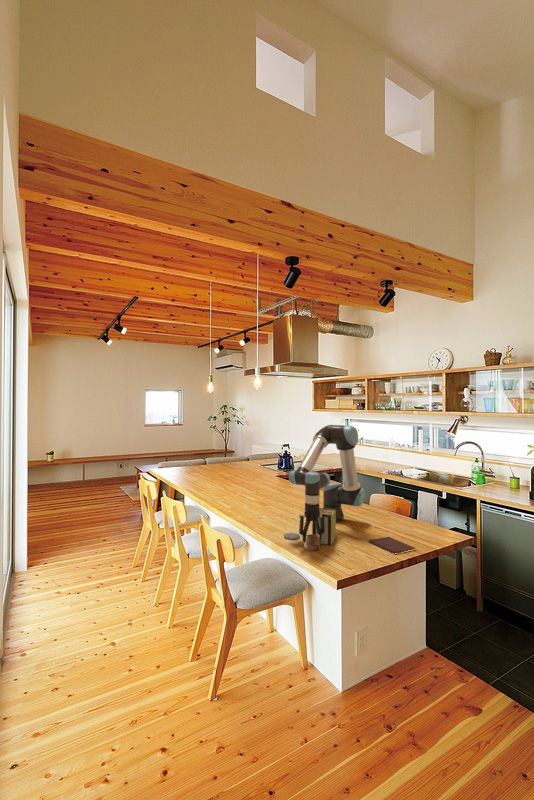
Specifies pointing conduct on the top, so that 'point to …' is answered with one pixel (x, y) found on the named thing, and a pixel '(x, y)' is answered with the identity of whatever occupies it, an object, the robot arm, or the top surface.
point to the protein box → (326, 526)
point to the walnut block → (312, 542)
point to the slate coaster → (291, 536)
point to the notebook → (391, 545)
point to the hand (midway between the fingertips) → (311, 547)
